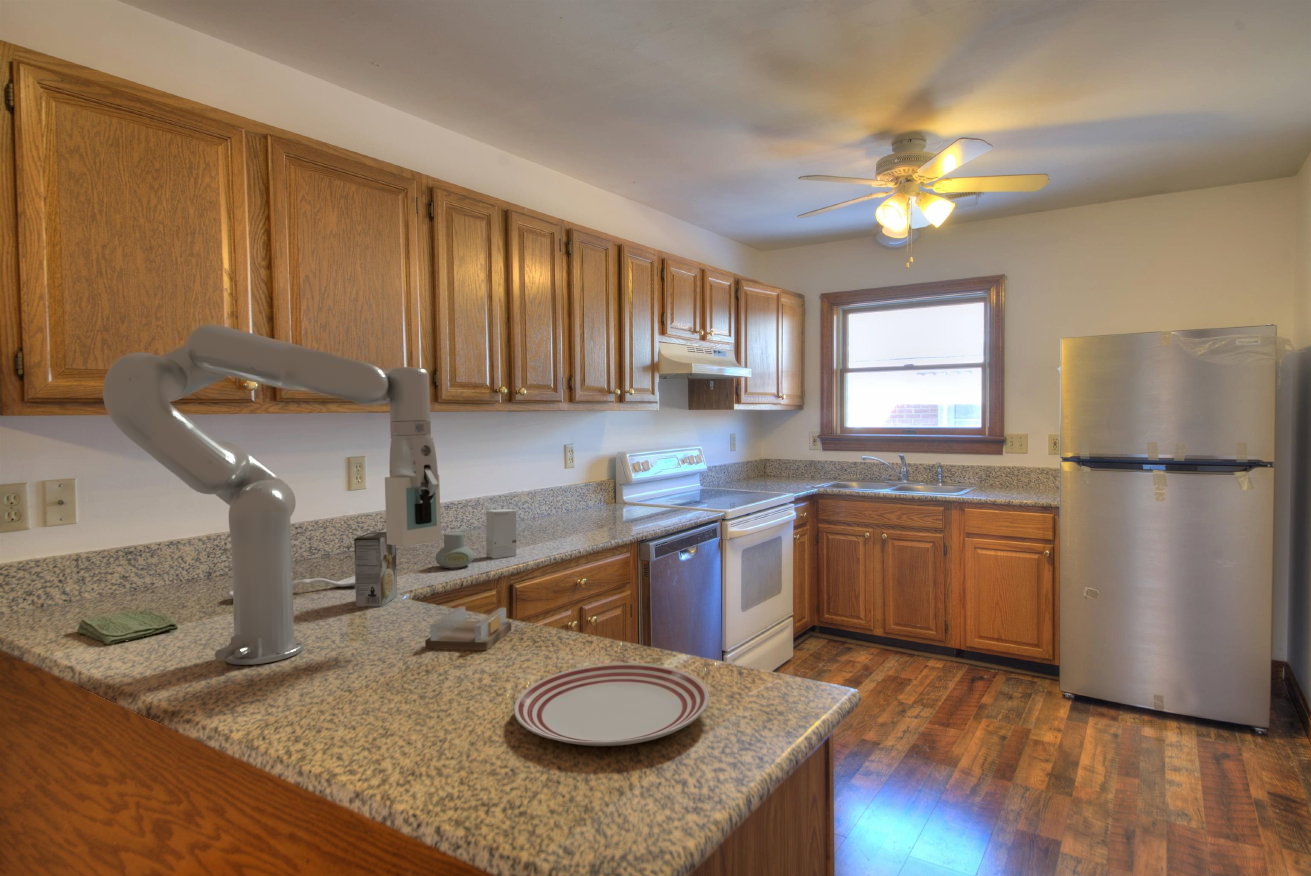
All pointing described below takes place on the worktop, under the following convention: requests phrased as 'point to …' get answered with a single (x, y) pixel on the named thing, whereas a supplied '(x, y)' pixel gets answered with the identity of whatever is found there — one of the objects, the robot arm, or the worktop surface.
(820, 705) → the worktop surface
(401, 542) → the carton
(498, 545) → the skincare box
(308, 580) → the spoon
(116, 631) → the washcloth
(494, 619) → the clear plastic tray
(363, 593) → the coffee box
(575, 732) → the dinner plate
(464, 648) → the napkin stand
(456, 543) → the air freshener
